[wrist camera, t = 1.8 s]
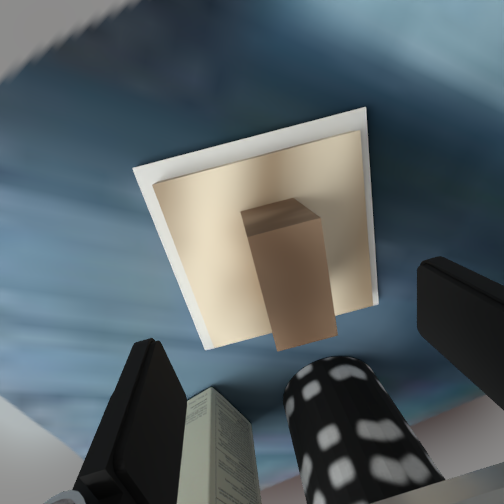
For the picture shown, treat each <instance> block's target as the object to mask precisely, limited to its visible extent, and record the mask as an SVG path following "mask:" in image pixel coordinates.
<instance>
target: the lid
mask: <svg viewBox="0 0 504 504" xmlns="http://www.w3.org/2000/svg"><path fill="white" fill-rule="evenodd" d="M152 186H153V189H154V192H155V194H156V197H157V200H158V202H159V205H160V207H161V210H162V213H163V215H164V218H165V221H166V223H167V226H168V228H169V231H170V234H171V236H172V239H173V241H174V244H175V247H176V249H177V252H178V255H179V257H180V260H181V262H182V265H183V268H184V270H185V273H186V275H187V278H188V281H189V283H190V286H191V289H192V291H193V294H194V296H195V299H196V302H197V304H198V307H199V309H200V312H201V315H202V317H203V320H204V323H205V325H206V328H207V330H208V333H209V336H210V338H211V341H212V343H213V346H214V348H217V347H220V346H224V345H228V344H232V343H235V342H239V341H243V340H247V339H250V338H254V337H258V336H262V335H265V334H269V333H273V337H274V340H275V344H276V348H277V352H278V351H281V350H285V349H289V348H293V347H296V346H300V345H304V344H308V343H311V342H315V341H319V340H322V339H326V338H330V337H334V336H337V335H338V333H337V326H336V319H335V316H336V315H340V314H344V313H347V312H351V311H355V310H359V309H362V308H366V307H370V306H373V296H372V283H371V269H370V256H369V242H368V229H367V215H366V201H365V188H364V174H363V161H362V147H361V134H360V130H357V131H349V132H345V133H341V134H338V135H334V136H330V137H326V138H322V139H319V140H315V141H311V142H307V143H303V144H299V145H296V146H292V147H288V148H284V149H280V150H277V151H273V152H269V153H265V154H261V155H258V156H254V157H250V158H246V159H242V160H239V161H235V162H231V163H227V164H223V165H220V166H216V167H212V168H208V169H204V170H201V171H197V172H193V173H189V174H185V175H182V176H178V177H174V178H170V179H166V180H163V181H159V182H156V183H154V184H153V185H152Z"/></svg>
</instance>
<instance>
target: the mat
mask: <svg viewBox="0 0 504 504" xmlns="http://www.w3.org/2000/svg"><path fill="white" fill-rule="evenodd" d="M357 130H360V134H361V147H362V161H363V174H364V188H365V201H366V215H367V229H368V242H369V256H370V269H371V283H372V296H373V306H374V305H377V304H379V302H378V286H377V270H376V255H375V239H374V224H373V208H372V193H371V177H370V162H369V146H368V130H367V115H366V107H363V108H359V109H356V110H352V111H348V112H344V113H340V114H337V115H333V116H329V117H325V118H321V119H317V120H314V121H310V122H306V123H302V124H298V125H295V126H291V127H287V128H283V129H279V130H276V131H272V132H268V133H264V134H260V135H257V136H253V137H249V138H245V139H241V140H237V141H234V142H230V143H226V144H222V145H218V146H215V147H211V148H207V149H203V150H199V151H196V152H192V153H188V154H184V155H180V156H177V157H173V158H169V159H165V160H161V161H157V162H154V163H150V164H146V165H142V166H138V167H135V168H132V169H133V171H134V174H135V176H136V179H137V181H138V184H139V186H140V189H141V191H142V194H143V196H144V199H145V201H146V204H147V206H148V209H149V211H150V214H151V216H152V219H153V221H154V224H155V226H156V229H157V231H158V234H159V236H160V239H161V241H162V244H163V246H164V249H165V251H166V254H167V256H168V259H169V261H170V264H171V266H172V269H173V271H174V274H175V276H176V279H177V281H178V284H179V286H180V289H181V291H182V294H183V296H184V299H185V301H186V304H187V306H188V309H189V311H190V314H191V316H192V319H193V321H194V324H195V326H196V329H197V331H198V334H199V336H200V339H201V341H202V344H203V346H204V349H205V350H209V349H213V348H214V346H213V343H212V341H211V338H210V336H209V333H208V330H207V328H206V325H205V323H204V320H203V317H202V315H201V312H200V309H199V307H198V304H197V302H196V299H195V296H194V294H193V291H192V289H191V286H190V283H189V281H188V278H187V275H186V273H185V270H184V268H183V265H182V262H181V260H180V257H179V255H178V252H177V249H176V247H175V244H174V241H173V239H172V236H171V234H170V231H169V228H168V226H167V223H166V221H165V218H164V215H163V213H162V210H161V207H160V205H159V202H158V200H157V197H156V194H155V192H154V189H153V186H152V185H153V184H154V183H156V182H159V181H163V180H166V179H170V178H174V177H178V176H182V175H185V174H189V173H193V172H197V171H201V170H204V169H208V168H212V167H216V166H220V165H223V164H227V163H231V162H235V161H239V160H242V159H246V158H250V157H254V156H258V155H261V154H265V153H269V152H273V151H277V150H280V149H284V148H288V147H292V146H296V145H299V144H303V143H307V142H311V141H315V140H319V139H322V138H326V137H330V136H334V135H338V134H341V133H345V132H349V131H357Z"/></svg>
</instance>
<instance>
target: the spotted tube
mask: <svg viewBox="0 0 504 504" xmlns="http://www.w3.org/2000/svg"><path fill="white" fill-rule="evenodd" d="M283 404H284V409H285V413H286V417H287V421H288V425H289V430H290V434H291V438H292V442H293V446H294V451H295V455H296V459H297V463H298V467H299V472H300V476H301V480H302V484H303V488H304V493H305V497H306V501H307V504H371V503H374V502H377V501H381V500H384V499H387V498H390V497H393V496H397V495H400V494H403V493H406V492H409V491H412V490H416V489H419V488H422V487H425V486H428V485H432V484H435V483H438V482H441V481H444V480H445V479H444V477H443V476H442V474H441V473H440V471H439V470H438V468H437V467H436V465H435V464H434V462H433V461H432V459H431V458H430V456H429V455H428V453H427V452H426V450H425V449H424V447H423V446H422V444H421V443H420V441H419V440H418V438H417V437H416V435H415V434H414V432H413V431H412V429H411V428H410V426H409V425H408V423H407V422H406V420H405V419H404V417H403V416H402V414H401V413H400V411H399V410H398V408H397V407H396V405H395V404H394V402H393V401H392V399H391V398H390V396H389V395H388V393H387V392H386V390H385V389H384V387H383V386H382V384H381V383H380V381H379V380H378V378H377V377H376V375H375V374H374V372H373V371H372V369H371V368H370V367H369V366H368V365H367V364H366V363H364V362H362V361H360V360H358V359H355V358H351V357H342V356H339V357H329V358H325V359H321V360H318V361H316V362H314V363H311V364H309V365H308V366H306V367H304V368H303V369H301V370H300V371H299V372H298V373H297V374H295V376H294V377H293V378H292V379H291V380H290V381H289V383H288V385H287V387H286V389H285V392H284V395H283Z"/></svg>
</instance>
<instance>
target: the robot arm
mask: <svg viewBox="0 0 504 504" xmlns="http://www.w3.org/2000/svg"><path fill="white" fill-rule="evenodd" d="M417 328H418V331H419V333H420V334H421V336H422V337H423V338H424V339H426V340H427V341H428V342H429V343H430V344H431V345H432V346H433V347H434V348H435V349H437V350H438V351H439V352H440V353H441V354H442V355H443V356H444V357H445V358H447V359H448V360H449V361H450V362H451V363H452V364H453V365H454V366H455V367H456V368H458V369H459V370H460V371H461V372H462V373H463V374H464V375H465V376H466V377H468V378H469V379H470V380H471V381H472V382H473V383H474V384H475V385H476V386H477V387H479V388H480V389H481V390H482V391H483V392H484V393H485V394H486V395H487V396H488V397H490V398H491V399H492V400H493V401H494V402H495V403H496V404H497V405H498V406H500V407H501V408H502V409H503V410H504V286H503V285H501V284H499V283H497V282H494V281H492V280H490V279H488V278H486V277H484V276H482V275H480V274H478V273H476V272H473V271H471V270H469V269H467V268H465V267H463V266H461V265H459V264H457V263H455V262H452V261H450V260H448V259H446V258H444V257H441V256H439V257H435V258H431V259H428V260H424V261H422V262H421V264H420V266H419V267H418V269H417ZM186 412H187V398H186V394H185V392H184V390H183V388H182V386H181V384H180V382H179V380H178V377H177V375H176V373H175V371H174V369H173V367H172V365H171V363H170V361H169V359H168V357H167V354H166V352H165V350H164V348H163V346H162V344H161V342H160V341H155V340H154V339H153V338H150V339H146V340H143V341H139V342H136V343H134V345H133V347H132V349H131V352H130V354H129V356H128V359H127V361H126V364H125V366H124V369H123V371H122V374H121V376H120V378H119V381H118V383H117V386H116V388H115V391H114V392H113V394H112V396H111V398H110V400H109V403H108V405H107V407H106V410H105V412H104V415H103V417H102V419H101V422H100V424H99V427H98V429H97V431H96V434H95V436H94V439H93V441H92V444H91V446H90V448H89V451H88V453H87V456H86V458H85V460H84V463H83V465H82V468H81V470H80V472H79V475H78V477H77V480H76V482H75V484H74V487H73V489H72V490H68V491H63V492H61V493H59V494H57V495H55V496H53V497H51V498H50V499H49V500H47V501H46V502H45V503H43V504H177V498H178V488H179V479H180V469H181V459H182V450H183V440H184V431H185V421H186ZM371 504H504V462H503V463H499V464H496V465H493V466H490V467H486V468H483V469H480V470H476V471H473V472H470V473H467V474H464V475H460V476H457V477H454V478H451V479H448V480H444V481H441V482H438V483H435V484H432V485H428V486H425V487H422V488H419V489H416V490H412V491H409V492H406V493H403V494H400V495H397V496H393V497H390V498H387V499H384V500H381V501H377V502H374V503H371Z"/></svg>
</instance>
